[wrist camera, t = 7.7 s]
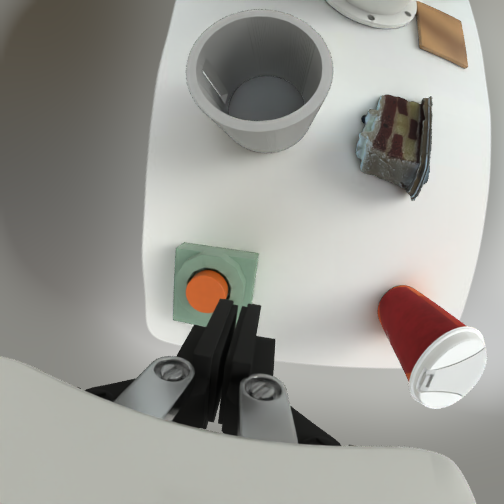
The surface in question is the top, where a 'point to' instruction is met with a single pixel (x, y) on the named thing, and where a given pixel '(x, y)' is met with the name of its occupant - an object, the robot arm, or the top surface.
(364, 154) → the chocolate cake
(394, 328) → the paper cup
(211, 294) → the power button
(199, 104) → the cup
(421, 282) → the top surface
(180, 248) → the button base
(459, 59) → the cork trivet
